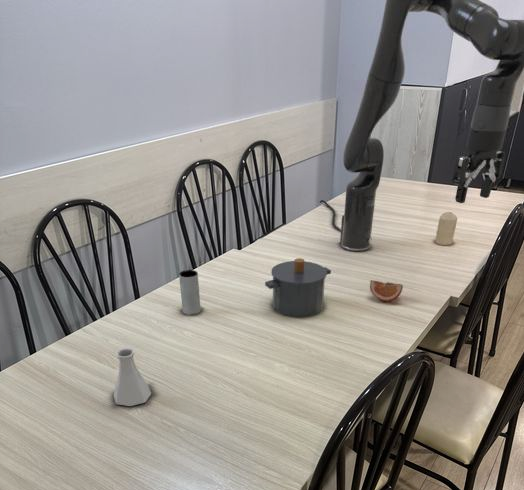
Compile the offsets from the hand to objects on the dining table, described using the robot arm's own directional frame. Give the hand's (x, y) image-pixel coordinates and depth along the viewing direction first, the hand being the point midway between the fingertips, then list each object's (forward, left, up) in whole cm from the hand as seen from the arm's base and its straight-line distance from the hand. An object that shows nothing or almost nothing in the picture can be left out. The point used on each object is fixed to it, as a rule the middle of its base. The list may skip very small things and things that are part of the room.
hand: (472, 199), depth 121 cm
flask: (0, -87, -26) cm, 91 cm away
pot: (-16, -38, -26) cm, 49 cm away
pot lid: (-16, -38, -17) cm, 45 cm away
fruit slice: (-8, -16, -26) cm, 32 cm away
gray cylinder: (-27, -63, -26) cm, 74 cm away
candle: (-30, +30, -26) cm, 50 cm away
